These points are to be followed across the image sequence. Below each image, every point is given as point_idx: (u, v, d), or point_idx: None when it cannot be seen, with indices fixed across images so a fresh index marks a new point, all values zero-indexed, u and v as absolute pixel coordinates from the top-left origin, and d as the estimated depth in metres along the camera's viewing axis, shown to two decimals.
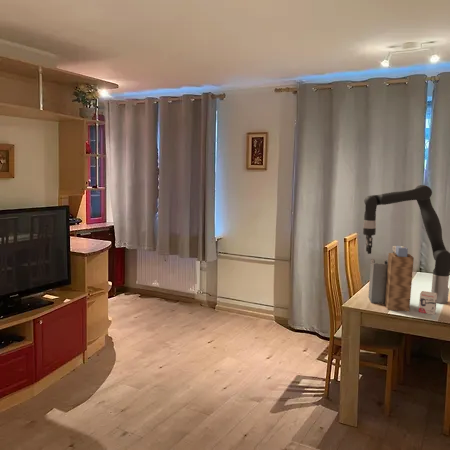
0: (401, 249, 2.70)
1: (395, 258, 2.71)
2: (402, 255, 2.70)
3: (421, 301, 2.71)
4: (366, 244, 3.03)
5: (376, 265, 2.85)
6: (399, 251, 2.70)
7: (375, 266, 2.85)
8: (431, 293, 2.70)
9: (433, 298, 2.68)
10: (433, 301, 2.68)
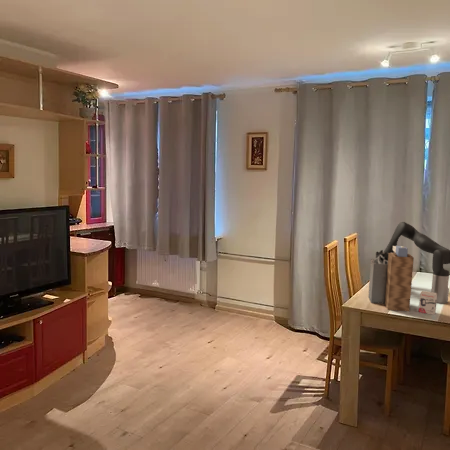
0: (401, 249, 2.70)
1: (395, 258, 2.71)
2: (402, 255, 2.70)
3: (421, 301, 2.71)
4: None
5: (376, 265, 2.85)
6: (399, 251, 2.70)
7: (375, 266, 2.85)
8: (431, 293, 2.70)
9: (433, 298, 2.68)
10: (433, 301, 2.68)
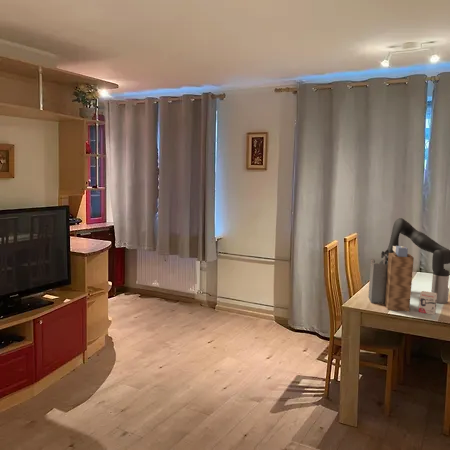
0: (401, 249, 2.70)
1: (395, 258, 2.71)
2: (402, 255, 2.70)
3: (421, 301, 2.71)
4: None
5: (376, 265, 2.85)
6: (399, 251, 2.70)
7: (375, 266, 2.85)
8: (431, 293, 2.70)
9: (433, 298, 2.68)
10: (433, 301, 2.68)
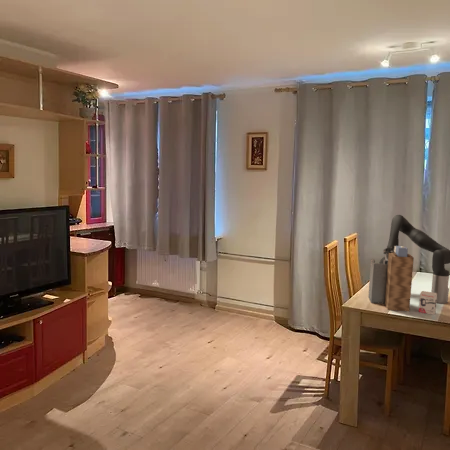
0: (401, 249, 2.70)
1: (395, 258, 2.71)
2: (402, 255, 2.70)
3: (421, 301, 2.71)
4: None
5: (376, 265, 2.85)
6: (399, 251, 2.70)
7: (375, 266, 2.85)
8: (431, 293, 2.70)
9: (433, 298, 2.68)
10: (433, 301, 2.68)
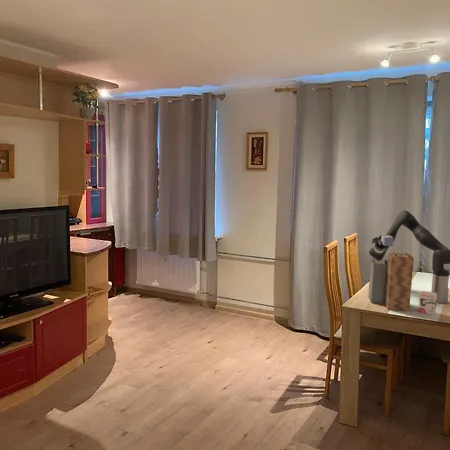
0: (387, 238, 2.83)
1: (395, 258, 2.71)
2: (388, 244, 2.83)
3: (421, 301, 2.71)
4: None
5: (376, 265, 2.85)
6: (385, 240, 2.83)
7: (375, 266, 2.85)
8: (431, 293, 2.70)
9: (433, 298, 2.68)
10: (433, 301, 2.68)
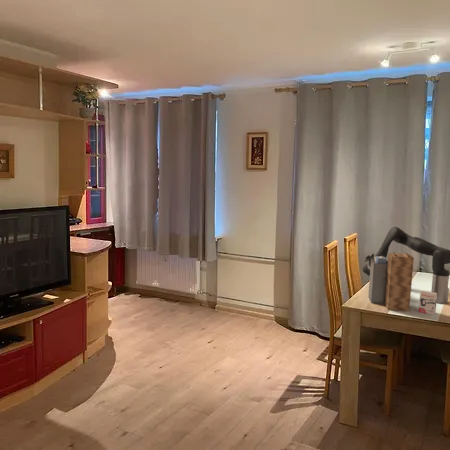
0: (380, 259, 2.87)
1: (395, 258, 2.71)
2: None
3: (421, 301, 2.71)
4: None
5: (376, 265, 2.85)
6: (378, 261, 2.87)
7: (375, 266, 2.85)
8: (431, 293, 2.70)
9: (433, 298, 2.68)
10: (433, 301, 2.68)
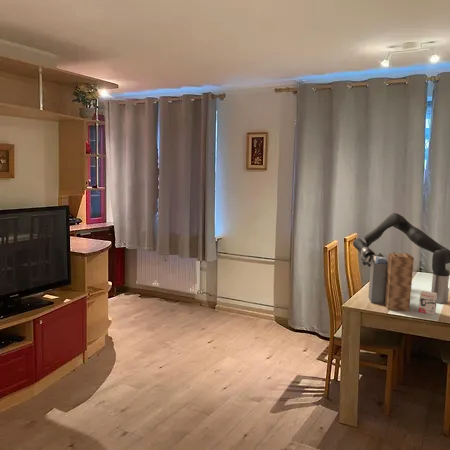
0: (380, 260, 2.87)
1: (395, 258, 2.71)
2: None
3: (421, 301, 2.71)
4: None
5: (376, 265, 2.85)
6: (378, 262, 2.87)
7: (375, 266, 2.85)
8: (431, 293, 2.70)
9: (433, 298, 2.68)
10: (433, 301, 2.68)
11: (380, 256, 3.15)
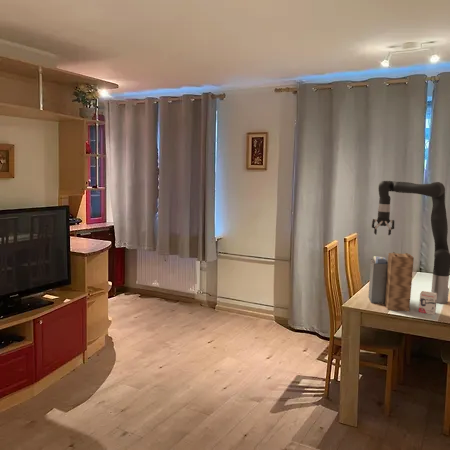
0: (380, 260, 2.87)
1: (395, 258, 2.71)
2: None
3: (421, 301, 2.71)
4: None
5: (376, 265, 2.85)
6: (378, 262, 2.87)
7: (375, 266, 2.85)
8: (431, 293, 2.70)
9: (433, 298, 2.68)
10: (433, 301, 2.68)
11: (392, 223, 3.12)
